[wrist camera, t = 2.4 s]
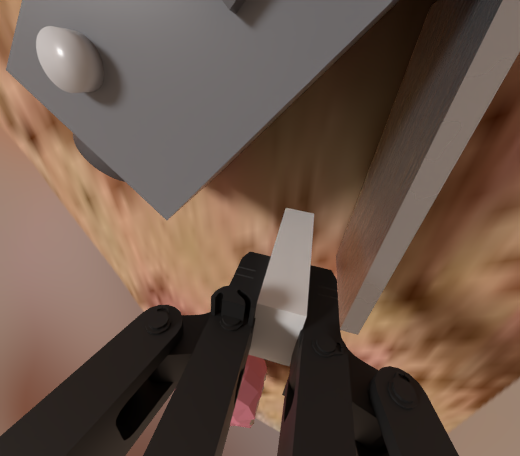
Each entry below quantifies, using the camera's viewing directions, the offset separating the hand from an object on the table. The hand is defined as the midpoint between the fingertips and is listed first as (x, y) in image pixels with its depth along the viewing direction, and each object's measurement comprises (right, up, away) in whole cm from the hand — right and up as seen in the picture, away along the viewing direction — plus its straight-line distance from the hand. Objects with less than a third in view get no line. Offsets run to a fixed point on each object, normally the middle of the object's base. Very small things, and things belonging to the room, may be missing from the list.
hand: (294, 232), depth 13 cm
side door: (+6, +5, +2) cm, 8 cm away
